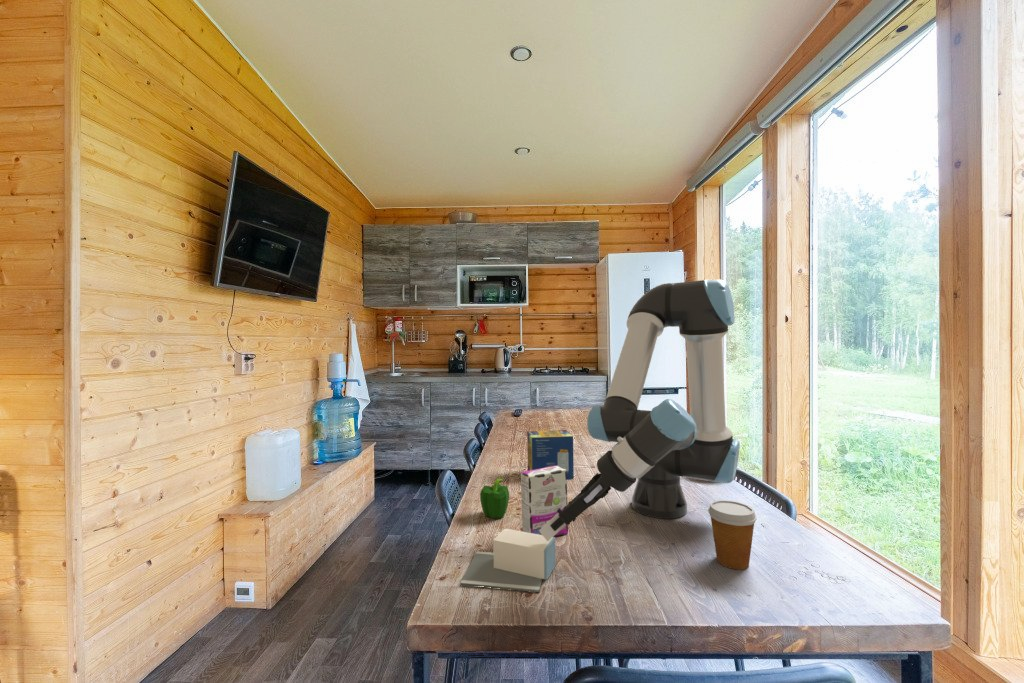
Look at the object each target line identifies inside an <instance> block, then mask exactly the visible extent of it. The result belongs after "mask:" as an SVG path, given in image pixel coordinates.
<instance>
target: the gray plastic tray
mask: <svg viewBox="0 0 1024 683" xmlns="http://www.w3.org/2000/svg"><path fill="white" fill-rule="evenodd" d="M542 580H543V579H541V578H536V577H532V576H528V575H523V574H519V573H514V572H510V571H506V570H501V569H497V568H494V554H493V552H488V551H476V552H475V555H474V557H473V558H472V560H471V562H470V564H469V566H468V568H467V570H466V572H465V573H464V575H463V578H462V579H461V580H460V582H459V583H460V586H461V585H462V586H461V587H469V586H484V587H491V588H500V589H499V590H502V589H511V590H510V591H513V590H519V591H518V592H524V591H530V592H529V593H535V592H539V591H540V592H541V587H542V583H543V582H542ZM540 586H541V587H540ZM491 588H490V589H491ZM540 592H539V593H540Z"/></svg>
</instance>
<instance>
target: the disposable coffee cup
mask: <svg viewBox="0 0 1024 683" xmlns="http://www.w3.org/2000/svg"><path fill="white" fill-rule="evenodd" d="M707 513H708V515H709V516H710V522H711V528H712V536H713V542H714V548H715V556H716V561H717V563H719V564H720V565H721V566H723V567H726V568H729V569H732V570H746V569H748V568H749V566H750V560H751V553H752V551H751V550H752V543H753V538H754V537H753V535H754V528H755V523H756V521H757V519H758V517H757V515H756V512H755V509H754V508H753V507H751V506H750V505H749V504H747V503H742V502H739V501H733V500H725V499H724V500H722V499H721V500H714V501H711V502H710V504H709V508H708V509H707Z"/></svg>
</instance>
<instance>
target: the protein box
mask: <svg viewBox="0 0 1024 683" xmlns="http://www.w3.org/2000/svg"><path fill="white" fill-rule="evenodd" d="M526 438H527V439H526V440H527V441H526V442H527V444H526V446H527V471H530V470H535V469H541V468H546V467H551V466H559V467H561V468H564V469H566V472H567V480H574V479H575V476H574V474H575V471H574V469H575V468H574V465H575V464H574V436H573V435H572V434H571V433H570V432H569V431H568V430H566V429H558V430H557V429H556V430H555V429H554V430H532V431H528V430H527V433H526ZM573 478H574V479H573Z"/></svg>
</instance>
